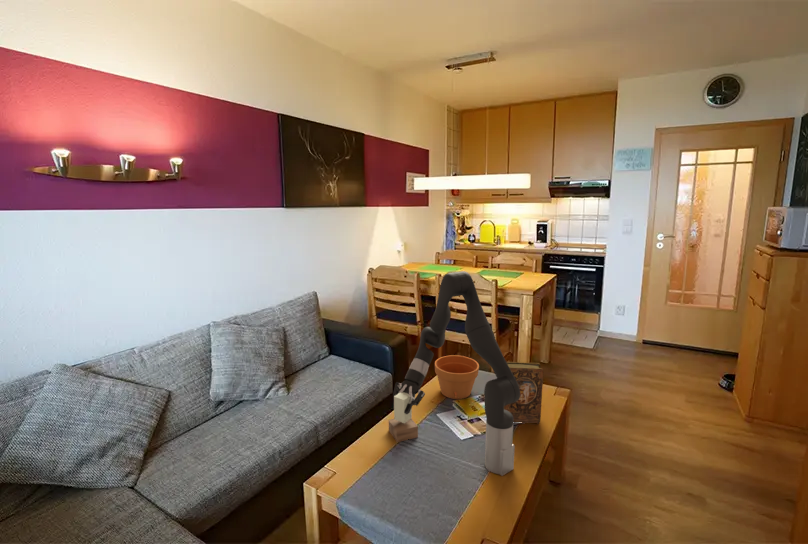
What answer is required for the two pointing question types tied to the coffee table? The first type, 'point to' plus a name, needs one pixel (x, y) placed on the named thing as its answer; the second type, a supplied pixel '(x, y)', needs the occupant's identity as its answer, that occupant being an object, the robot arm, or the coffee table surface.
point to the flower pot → (456, 375)
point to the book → (527, 392)
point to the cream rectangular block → (401, 407)
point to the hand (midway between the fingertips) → (400, 411)
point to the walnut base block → (403, 430)
